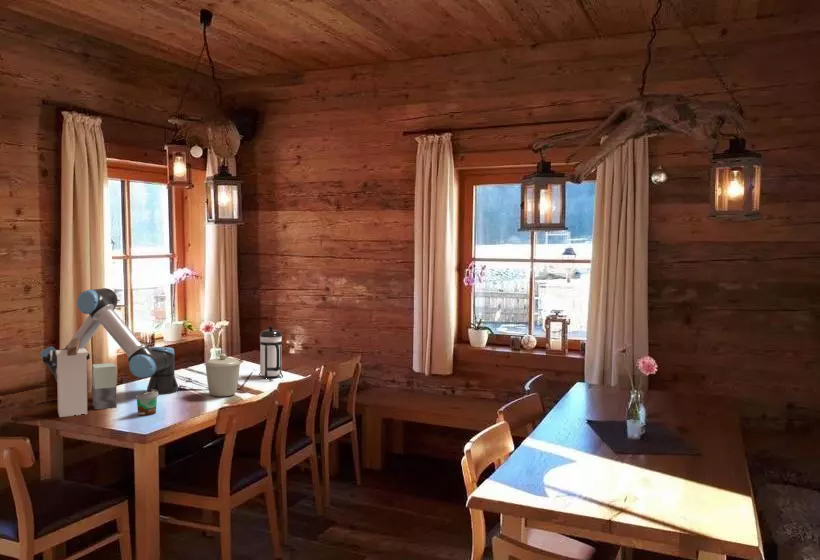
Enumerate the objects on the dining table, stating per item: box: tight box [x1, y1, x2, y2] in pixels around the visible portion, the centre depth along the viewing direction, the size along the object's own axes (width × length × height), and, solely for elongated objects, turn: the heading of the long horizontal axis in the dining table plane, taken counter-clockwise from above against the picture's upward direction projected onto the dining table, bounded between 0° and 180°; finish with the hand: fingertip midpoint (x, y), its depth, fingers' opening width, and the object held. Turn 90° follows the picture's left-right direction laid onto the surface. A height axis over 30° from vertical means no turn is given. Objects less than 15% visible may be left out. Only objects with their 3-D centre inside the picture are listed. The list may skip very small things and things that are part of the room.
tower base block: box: [92, 385, 118, 410], centre depth 312 cm, size 9×10×10 cm
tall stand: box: [56, 348, 89, 418], centre depth 299 cm, size 12×12×28 cm
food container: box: [135, 389, 160, 417], centre depth 300 cm, size 12×6×10 cm, turn 168°
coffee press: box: [258, 325, 284, 380], centre depth 383 cm, size 17×16×30 cm
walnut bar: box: [67, 338, 80, 356], centre depth 300 cm, size 4×28×4 cm, turn 23°
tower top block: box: [91, 362, 117, 389], centre depth 311 cm, size 9×10×10 cm
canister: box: [204, 353, 242, 398], centre depth 338 cm, size 18×18×21 cm
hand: (67, 351), depth 316 cm, fingers open, 13 cm apart
